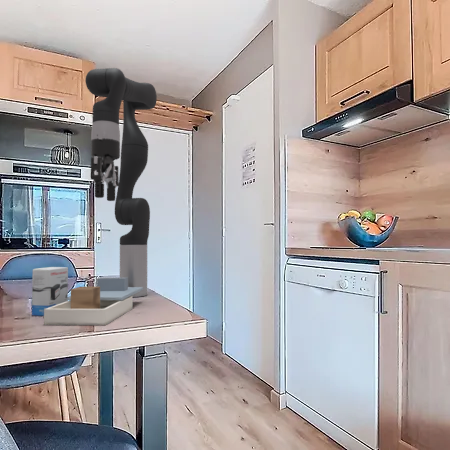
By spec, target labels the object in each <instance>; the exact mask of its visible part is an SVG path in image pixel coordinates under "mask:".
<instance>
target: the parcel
mask: <svg viewBox="0 0 450 450" xmlns="http://www.w3.org/2000/svg"><path fill="white" fill-rule="evenodd" d="M70 296H71V309H100V287H97V286H78V287H75V288H71V289H70Z"/></svg>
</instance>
